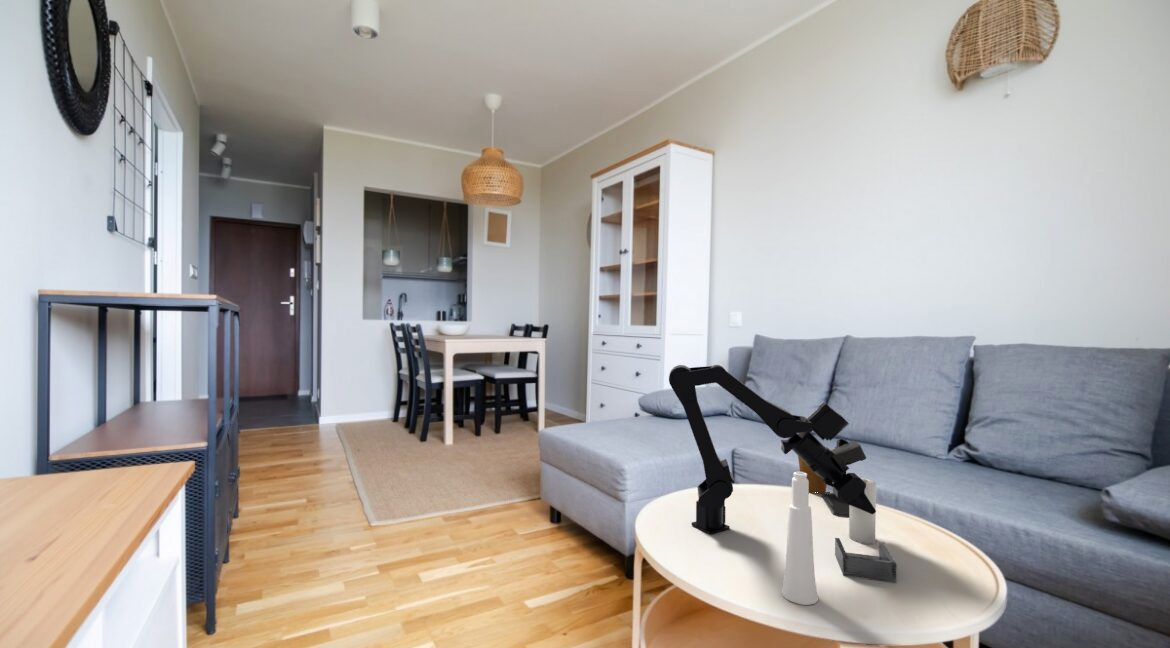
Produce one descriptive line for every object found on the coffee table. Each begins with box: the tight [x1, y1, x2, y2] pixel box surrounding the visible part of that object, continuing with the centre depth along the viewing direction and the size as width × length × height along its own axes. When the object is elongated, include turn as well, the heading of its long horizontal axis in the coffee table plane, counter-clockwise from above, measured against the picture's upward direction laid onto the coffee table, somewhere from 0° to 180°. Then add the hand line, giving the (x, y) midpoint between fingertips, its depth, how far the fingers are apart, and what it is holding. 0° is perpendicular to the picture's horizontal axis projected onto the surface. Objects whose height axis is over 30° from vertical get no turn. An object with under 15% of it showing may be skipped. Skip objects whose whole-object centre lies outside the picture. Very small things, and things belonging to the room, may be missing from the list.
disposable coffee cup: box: [797, 448, 831, 494], centre depth 147 cm, size 10×10×12 cm
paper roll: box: [848, 477, 877, 545], centre depth 114 cm, size 5×5×13 cm
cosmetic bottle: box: [781, 471, 819, 606], centre depth 90 cm, size 6×6×22 cm
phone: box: [821, 492, 849, 518], centre depth 134 cm, size 8×1×15 cm
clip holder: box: [834, 537, 897, 583], centre depth 101 cm, size 9×9×4 cm
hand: (866, 505), depth 114 cm, fingers open, 9 cm apart
